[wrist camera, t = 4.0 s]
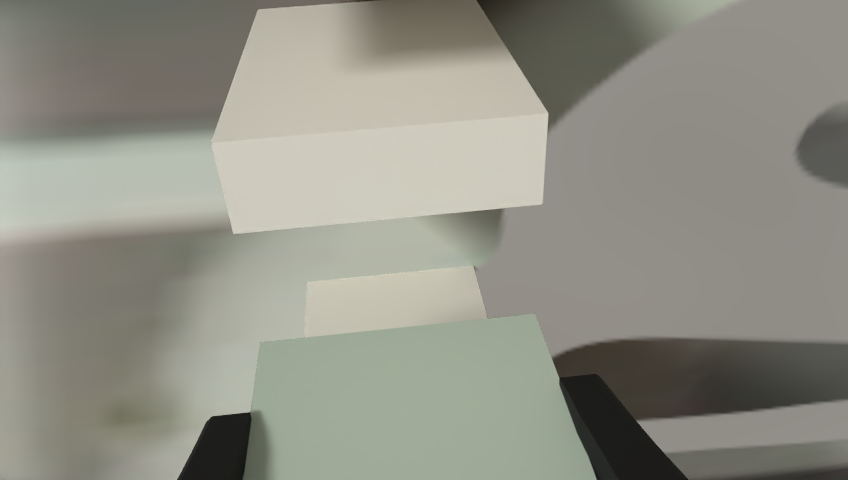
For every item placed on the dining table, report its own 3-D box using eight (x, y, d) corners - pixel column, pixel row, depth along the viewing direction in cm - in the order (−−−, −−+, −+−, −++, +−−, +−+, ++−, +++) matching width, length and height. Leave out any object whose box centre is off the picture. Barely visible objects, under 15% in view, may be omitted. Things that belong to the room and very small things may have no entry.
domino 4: (472, 59, 17) (542, 205, 11) (270, 76, 16) (234, 233, 11) (471, -7, 16) (548, 114, 10) (258, 9, 16) (210, 142, 10)
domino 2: (473, 306, 21) (523, 500, 16) (315, 322, 21) (306, 527, 15) (473, 265, 20) (526, 456, 15) (307, 282, 20) (295, 483, 14)
